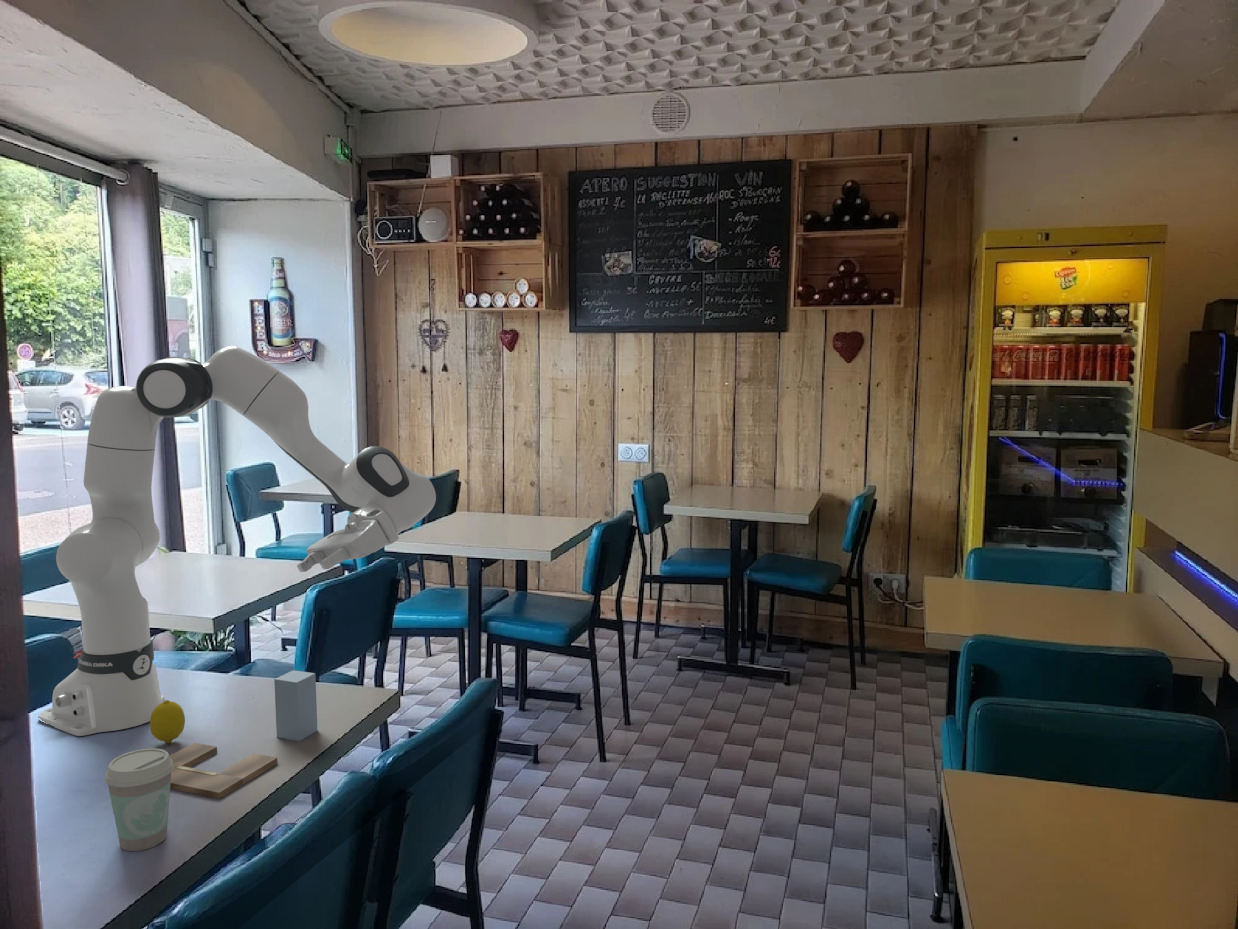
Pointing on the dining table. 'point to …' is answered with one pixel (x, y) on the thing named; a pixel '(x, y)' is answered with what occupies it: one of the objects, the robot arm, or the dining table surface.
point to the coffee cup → (140, 797)
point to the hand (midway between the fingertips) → (311, 567)
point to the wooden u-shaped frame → (212, 781)
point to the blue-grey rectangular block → (295, 705)
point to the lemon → (167, 721)
